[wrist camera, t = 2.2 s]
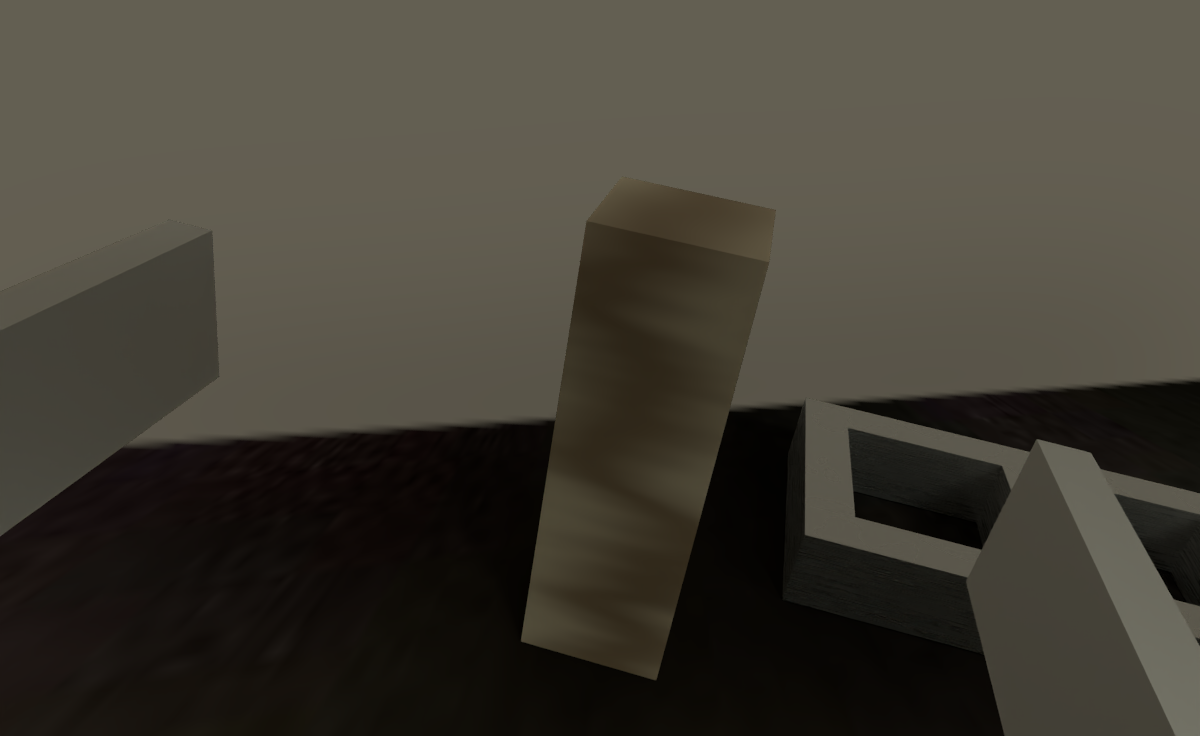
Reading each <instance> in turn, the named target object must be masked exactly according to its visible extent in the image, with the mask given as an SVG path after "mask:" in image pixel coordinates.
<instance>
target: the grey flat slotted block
mask: <svg viewBox="0 0 1200 736" xmlns="http://www.w3.org/2000/svg"><path fill="white" fill-rule="evenodd" d="M1029 454H1030V452H1027V451H1023V450H1019V449H1015V448H1011V447H1007V446H1002V445H998V444H994V443H990V442H986V441H982V440H978V439H974V438H970V437H966V436H961V435H957V434H953V433H949V432H945V431H941V430H937V429H933V428H929V427H924V426H920V425H916V424H912V423H908V422H904V421H900V420H896V419H892V418H888V417H883V416H879V415H875V414H871V413H867V412H863V411H859V410H855V409H851V408H846V407H842V406H838V405H834V404H830V403H826V402H822V401H818V400H814V399H810V398H805V402H804V405H803V408H802V411H801V414H800V417H799V420H798V424H797V427H796V430H795V433H794V436H793V439H792V442H791V446H790V449H789V452H788V470H787V495H786V519H785V544H784V569H783V594H782V600H786V601H789V602H793V603H797V604H800V605H804V606H808V607H811V608H815V609H819V610H822V611H826V612H830V613H833V614H837V615H841V616H844V617H848V618H852V619H855V620H859V621H863V622H866V623H870V624H874V625H877V626H881V627H885V628H888V629H892V630H896V631H899V632H903V633H907V634H910V635H914V636H918V637H921V638H925V639H929V640H932V641H936V642H940V643H943V644H947V645H951V646H954V647H958V648H962V649H965V650H969V651H973V652H976V653H980V654H984V652H983V648H982V644H981V640H980V636H979V632H978V628H977V624H976V620H975V616H974V612H973V608H972V604H971V600H970V596H969V592H968V588H967V584H966V580H967V578H968V576H969V574H970V572H971V570H972V568H973V566H974V564H975V562H976V560H977V558H978V556H979V554H980V552H981V550H980V549H976V548H972V547H969V546H965V545H961V544H957V543H953V542H949V541H945V540H941V539H938V538H934V537H930V536H926V535H922V534H918V533H914V532H910V531H907V530H903V529H899V528H895V527H891V526H887V525H883V524H880V523H876V522H872V521H868V520H864V519H860V518H856V517H855V510H854V497H853V491H855V492H859V493H863V494H867V495H870V496H874V497H878V498H882V499H886V500H890V501H894V502H898V503H902V504H906V505H910V506H914V507H917V508H921V509H925V510H929V511H933V512H937V513H941V514H945V515H949V516H953V517H957V518H961V519H965V520H968V521H972V522H976V525H977V529H978V532H979V536H980V539H981V543H982V546H984V544H985V542H986V540H987V538H988V536H989V534H990V532H991V530H992V528H993V526H994V524H995V522H996V520H997V518H998V516H999V514H1000V512H1001V510H1002V508H1003V506H1004V504H1005V502H1006V500H1007V498H1008V496H1009V494H1010V492H1011V490H1012V488H1013V486H1014V484H1015V482H1016V480H1017V478H1018V476H1019V474H1020V472H1021V470H1022V468H1023V466H1024V464H1025V462H1026V460H1027V458H1028V456H1029ZM1100 470H1101V469H1100ZM1101 472H1102V473H1103V475H1104V477H1105V479H1106V481H1107V482H1108V484H1109V486H1110V488H1111V489H1112V491H1113V493H1114V495H1115V497H1116V498H1117V500H1118V502H1119V504H1120V505H1121V507H1122V509H1123V511H1124V513H1125V514H1126V516H1127V518H1128V520H1129V521H1130V523H1131V525H1132V527H1133V529H1134V530H1135V532H1136V534H1137V536H1138V537H1139V539H1140V541H1141V543H1142V545H1143V546H1144V548H1145V550H1146V552H1147V553H1148V555H1149V557H1150V559H1151V561H1152V562H1153V564H1154V566H1155V568H1157V569H1161V570H1165V571H1168V572H1170V574H1171V576H1172V577H1173V579H1174V581H1175V582H1176V584H1177V586H1178V588H1179V589H1180V591H1181V593H1182V595H1183V596H1184V598H1185V600H1186V602H1187V603H1185V602H1181V601H1177V600H1174V601H1175V603H1176V605H1177V607H1178V608H1179V610H1180V612H1181V614H1182V616H1183V617H1184V619H1185V621H1186V623H1187V624H1188V626H1189V628H1190V630H1191V632H1192V633H1193V635H1194V637H1195V639H1196V640H1197V642H1198V644H1199V646H1200V494H1199V493H1195V492H1191V491H1187V490H1183V489H1179V488H1175V487H1171V486H1167V485H1163V484H1158V483H1154V482H1150V481H1146V480H1142V479H1138V478H1134V477H1130V476H1126V475H1122V474H1117V473H1113V472H1109V471H1105V470H1101Z"/></svg>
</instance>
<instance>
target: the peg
mask: <svg viewBox="0 0 1200 736" xmlns="http://www.w3.org/2000/svg"><path fill="white" fill-rule="evenodd" d="M775 211H776V210H774V209H769V208H764V207H760V206H755V205H751V204H746V203H741V202H737V201H732V200H728V199H723V198H719V197H713V196H709V195H705V194H700V193H695V192H691V191H686V190H682V189H677V188H672V187H668V186H663V185H659V184H654V183H650V182H645V181H641V180H636V179H631V178H627V177H621V179H620V180H619V181H618V182H617V184H616V185H615V186H614V187H613V189H612V190H611V191H610V192H609V194H608V195H607V196H606V197H605V199H604V200H603V201H602V202H601V204H600V205H599V206H598V207H597V209H596V210H595V211H594V212H593V214H592V215H591V216H590V217H589V219H588V220H587V222H586V228H585V235H584V241H583V247H582V254H581V261H580V267H579V273H578V279H577V286H576V292H575V299H574V305H573V311H572V318H571V324H570V330H569V337H568V343H567V350H566V356H565V362H564V369H563V375H562V382H561V388H560V394H559V401H558V408H557V414H556V420H555V426H554V433H553V439H552V446H551V452H550V458H549V465H548V471H547V478H546V484H545V490H544V497H543V503H542V510H541V516H540V522H539V529H538V535H537V541H536V548H535V554H534V561H533V567H532V573H531V580H530V586H529V593H528V599H527V605H526V612H525V618H524V625H523V631H522V637H521V642H525V643H528V644H532V645H535V646H539V647H542V648H546V649H549V650H552V651H556V652H559V653H563V654H566V655H570V656H573V657H577V658H580V659H584V660H587V661H590V662H594V663H597V664H601V665H604V666H608V667H611V668H615V669H618V670H622V671H625V672H628V673H632V674H635V675H639V676H642V677H646V678H649V679H653V680H656V679H657V676H658V672H659V668H660V665H661V661H662V657H663V653H664V650H665V646H666V642H667V639H668V635H669V631H670V628H671V624H672V620H673V616H674V613H675V609H676V605H677V602H678V598H679V594H680V591H681V587H682V583H683V579H684V576H685V572H686V568H687V565H688V561H689V557H690V554H691V550H692V546H693V542H694V539H695V535H696V531H697V528H698V524H699V520H700V517H701V513H702V509H703V505H704V502H705V498H706V494H707V491H708V487H709V483H710V480H711V476H712V472H713V468H714V465H715V461H716V457H717V454H718V450H719V446H720V443H721V439H722V435H723V431H724V428H725V424H726V420H727V417H728V413H729V409H730V406H731V401H732V398H733V394H734V391H735V387H736V383H737V380H738V376H739V372H740V368H741V365H742V361H743V357H744V354H745V350H746V346H747V343H748V339H749V335H750V331H751V328H752V324H753V320H754V317H755V313H756V309H757V306H758V302H759V298H760V295H761V291H762V287H763V284H764V280H765V276H766V272H767V268H768V265H769V260H770V252H771V243H772V235H773V227H774V220H775Z"/></svg>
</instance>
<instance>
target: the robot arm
mask: <svg viewBox="0 0 1200 736" xmlns="http://www.w3.org/2000/svg"><path fill="white" fill-rule="evenodd" d="M218 377H219V363H218V342H217V321H216V302H215V280H214V261H213V239H212V230H208V229H204V228H200V227H196V226H193V225H188V224H185V223H181V222H177V221H173V220H167V221H165V222H163V223H160V224H158V225H156V226H153V227H151V228H148V229H146V230H144V231H141V232H139V233H137V234H134V235H132V236H130V237H127V238H125V239H123V240H121V241H118V242H115V243H113V244H111V245H109V246H106V247H104V248H102V249H99V250H97V251H94V252H92V253H90V254H87V255H85V256H83V257H80V258H78V259H75V260H73V261H71V262H69V263H66V264H64V265H61V266H59V267H57V268H54V269H52V270H50V271H47V272H45V273H43V274H40V275H38V276H35V277H33V278H31V279H28V280H26V281H24V282H21V283H19V284H17V285H14V286H12V287H9V288H7V289H5V290H2V291H0V536H1V535H2V534H4V533H5V532H7V531H8V530H9V529H11V528H12V527H13V526H15V525H16V524H18V523H19V522H20V521H22V520H23V519H24V518H26V517H27V516H29V515H30V514H31V513H33V512H34V511H35V510H37V509H38V508H40V507H41V506H42V505H44V504H45V503H46V502H48V501H49V500H51V499H52V498H53V497H55V496H56V495H57V494H59V493H60V492H62V491H63V490H64V489H66V488H67V487H68V486H70V485H71V484H73V483H74V482H75V481H77V480H78V479H79V478H81V477H82V476H83V475H85V474H86V473H88V472H89V471H90V470H92V469H93V468H94V467H96V466H97V465H99V464H100V463H101V462H103V461H104V460H105V459H107V458H108V457H110V456H111V455H112V454H114V453H115V452H116V451H118V450H119V449H121V448H122V447H123V446H125V445H126V444H127V443H129V442H130V441H132V440H133V439H134V438H136V437H137V436H138V435H140V434H141V433H143V432H144V431H145V430H147V429H148V428H149V427H151V426H152V425H154V424H155V423H156V422H158V421H159V420H160V419H162V418H163V417H164V416H166V415H167V414H168V413H170V412H171V411H173V410H174V409H176V408H177V407H178V406H180V405H181V404H182V403H184V402H185V401H186V400H188V399H189V398H191V397H192V396H193V395H195V394H196V393H198V392H199V391H200V390H202V389H203V388H204V387H206V386H207V385H209V384H210V383H211V382H212V381H214V380H215V379H217V378H218ZM966 584H967V588H968V592H969V596H970V600H971V604H972V608H973V612H974V616H975V620H976V624H977V628H978V632H979V636H980V640H981V644H982V648H983V652H984V655H985V659H986V663H987V667H988V671H989V675H990V679H991V683H992V687H993V691H994V695H995V699H996V703H997V707H998V711H999V715H1000V719H1001V723H1002V727H1003V731H1004V735H1005V736H1200V646H1199V644H1198V642H1197V640H1196V639H1195V637H1194V635H1193V633H1192V632H1191V630H1190V628H1189V626H1188V624H1187V623H1186V621H1185V619H1184V617H1183V616H1182V614H1181V612H1180V610H1179V608H1178V607H1177V605H1176V603H1175V601H1174V600H1173V598H1172V596H1171V594H1170V592H1169V591H1168V589H1167V587H1166V585H1165V584H1164V582H1163V580H1162V578H1161V577H1160V575H1159V573H1158V571H1157V569H1156V568H1155V566H1154V564H1153V562H1152V561H1151V559H1150V557H1149V555H1148V553H1147V552H1146V550H1145V548H1144V546H1143V545H1142V543H1141V541H1140V539H1139V537H1138V536H1137V534H1136V532H1135V530H1134V529H1133V527H1132V525H1131V523H1130V521H1129V520H1128V518H1127V516H1126V514H1125V513H1124V511H1123V509H1122V507H1121V505H1120V504H1119V502H1118V500H1117V498H1116V497H1115V495H1114V493H1113V491H1112V489H1111V488H1110V486H1109V484H1108V482H1107V481H1106V479H1105V477H1104V475H1103V473H1102V472H1101V470H1100V468H1099V466H1098V465H1097V463H1096V461H1095V459H1094V457H1093V456H1092V454H1091V453H1089V452H1085V451H1081V450H1077V449H1073V448H1069V447H1065V446H1061V445H1057V444H1053V443H1050V442H1046V441H1042V440H1038V439H1037V440H1036V442H1035V444H1034V446H1033V448H1032V450H1031V452H1030V454H1029V456H1028V458H1027V460H1026V462H1025V464H1024V466H1023V468H1022V470H1021V472H1020V474H1019V476H1018V478H1017V480H1016V482H1015V484H1014V486H1013V488H1012V490H1011V492H1010V494H1009V496H1008V498H1007V500H1006V502H1005V504H1004V506H1003V508H1002V510H1001V512H1000V514H999V516H998V518H997V520H996V522H995V524H994V526H993V528H992V530H991V532H990V534H989V536H988V538H987V540H986V542H985V544H984V546H983V548H982V550H981V552H980V554H979V556H978V558H977V560H976V562H975V564H974V566H973V568H972V570H971V572H970V574H969V576H968V578H967V580H966Z"/></svg>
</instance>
